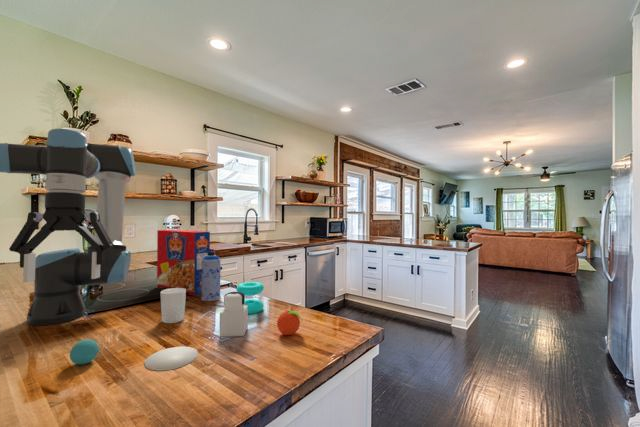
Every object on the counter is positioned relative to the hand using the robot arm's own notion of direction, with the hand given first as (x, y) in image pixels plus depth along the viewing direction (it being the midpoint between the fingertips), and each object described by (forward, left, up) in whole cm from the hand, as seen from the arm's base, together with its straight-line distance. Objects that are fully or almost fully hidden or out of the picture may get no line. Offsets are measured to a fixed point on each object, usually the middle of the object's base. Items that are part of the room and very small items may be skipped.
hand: (63, 279), depth 72 cm
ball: (+6, -1, -17) cm, 18 cm away
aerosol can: (+24, +52, -20) cm, 60 cm away
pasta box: (+7, +69, -20) cm, 72 cm away
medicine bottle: (+39, +14, -20) cm, 46 cm away
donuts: (+42, +34, -20) cm, 57 cm away
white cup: (+17, +27, -20) cm, 38 cm away
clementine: (+56, +10, -20) cm, 60 cm away
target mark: (+26, -1, -20) cm, 32 cm away
